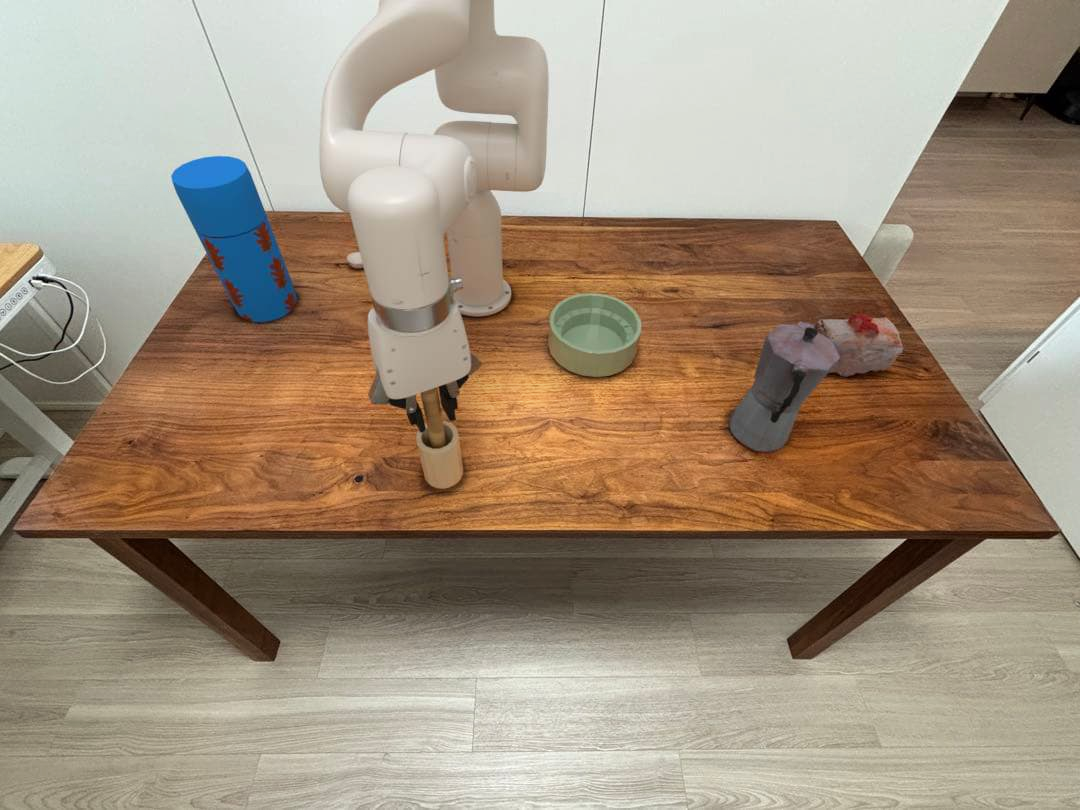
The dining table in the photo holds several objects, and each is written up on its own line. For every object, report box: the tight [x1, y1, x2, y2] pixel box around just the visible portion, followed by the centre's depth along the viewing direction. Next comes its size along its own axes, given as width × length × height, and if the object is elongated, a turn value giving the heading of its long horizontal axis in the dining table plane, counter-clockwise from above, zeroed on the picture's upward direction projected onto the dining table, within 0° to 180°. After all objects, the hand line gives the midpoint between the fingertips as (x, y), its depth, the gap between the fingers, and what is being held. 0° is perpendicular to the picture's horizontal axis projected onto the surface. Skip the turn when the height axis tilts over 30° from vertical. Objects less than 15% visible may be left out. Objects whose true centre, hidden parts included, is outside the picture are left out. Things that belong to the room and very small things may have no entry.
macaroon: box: [346, 251, 364, 270], centre depth 108 cm, size 4×5×2 cm
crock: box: [415, 419, 464, 489], centre depth 73 cm, size 5×6×9 cm
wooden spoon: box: [420, 387, 447, 449], centre depth 69 cm, size 3×2×18 cm
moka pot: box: [728, 320, 840, 453], centre depth 76 cm, size 10×15×20 cm, turn 161°
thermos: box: [170, 155, 298, 323], centre depth 90 cm, size 11×11×25 cm
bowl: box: [547, 292, 642, 378], centre depth 92 cm, size 15×15×6 cm
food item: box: [813, 313, 904, 378], centre depth 90 cm, size 14×8×10 cm, turn 96°
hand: (433, 417), depth 67 cm, fingers open, 3 cm apart
